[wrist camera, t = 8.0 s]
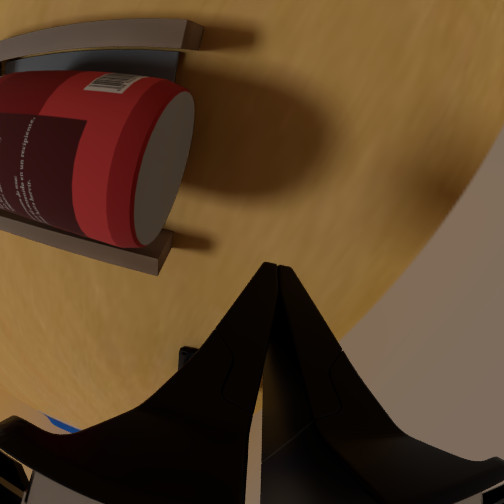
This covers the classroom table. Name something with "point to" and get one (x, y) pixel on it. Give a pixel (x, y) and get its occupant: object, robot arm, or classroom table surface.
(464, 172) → the classroom table surface
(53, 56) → the mat
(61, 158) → the canned food
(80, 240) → the cradle
